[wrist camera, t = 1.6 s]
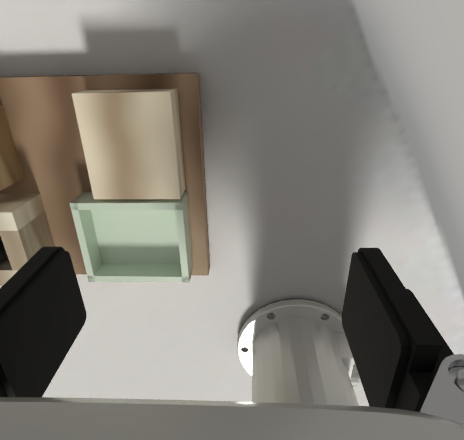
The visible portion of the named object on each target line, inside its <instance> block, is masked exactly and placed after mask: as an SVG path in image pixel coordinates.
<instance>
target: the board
mask: <svg viewBox="0 0 464 440" xmlns="http://www.w3.org/2000/svg"><path fill="white" fill-rule="evenodd" d="M131 89H177V92H178V104H179V115H180V127H181V139H182V151H183V163H184V175H185V187H186V188H185V191H184V192H187V196H188V208H189V221H190V233H191V245H192V257H193V270H192V274H191V275H208V274H209V269H210V260H209V242H208V224H207V207H206V189H205V172H204V154H203V137H202V119H201V102H200V84H199V73H174V74H124V75H74V76H24V77H0V194H40V195H41V198H42V202H43V205H44V209H45V212H46V216H47V220H48V223H49V227H50V230H51V234H52V237H53V241H54V244H55V247H63V248H64V249H65V251H68V252H69V253H70V256H71V260H72V263H73V267H74V271H75V274H87V273H86V269H85V265H84V260H83V256H82V252H81V248H80V244H79V240H78V236H77V232H76V228H75V224H74V220H73V215H72V211H71V207H70V202H72V201H73V200H74V199H75V198H76V197H78V196H79V195H80V194H81V193H83V192H92V189H91V184H90V179H89V174H88V170H87V165H86V160H85V155H84V150H83V146H82V141H81V136H80V131H79V127H78V122H77V117H76V112H75V108H74V103H73V98H72V93H76V92H81V91H86V90H131Z"/></svg>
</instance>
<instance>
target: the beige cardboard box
mask: <svg viewBox="0 0 464 440" xmlns="http://www.w3.org/2000/svg"><path fill="white" fill-rule="evenodd" d="M72 98H73V103H74V108H75V112H76V117H77V122H78V127H79V131H80V136H81V141H82V146H83V150H84V155H85V160H86V165H87V170H88V174H89V179H90V184H91V189H92V193H93V198H94V199H181V197H182V195H183V193H184V191H185V188H186V187H185V175H184V163H183V151H182V139H181V127H180V115H179V104H178V92H177V89H131V90H86V91H81V92H76V93H72Z"/></svg>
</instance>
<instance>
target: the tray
mask: <svg viewBox="0 0 464 440" xmlns="http://www.w3.org/2000/svg"><path fill="white" fill-rule="evenodd" d="M70 207H71V211H72V215H73V220H74V224H75V228H76V232H77V236H78V240H79V244H80V248H81V252H82V256H83V260H84V265H85V269H86V273H87V277H88V281H91V282H185V283H189V281H190V278H191V274H192V270H193V257H192V245H191V233H190V221H189V208H188V196H187V192H184V193H183V195H182V197H181V199H94V198H93V193H92V192H83V193H81V194H80V195H79V196H78V197H76V198H75V199H74V200H73V201H72V202H70Z"/></svg>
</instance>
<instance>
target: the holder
mask: <svg viewBox="0 0 464 440" xmlns="http://www.w3.org/2000/svg"><path fill="white" fill-rule="evenodd" d="M0 236H1V239H2V242H3V244H4V247H5V250H6V253H7V255H6V256H5V257H4V258H3V259H2V260H0V286H3V285H4V284H5V283H6V282H7V281H8V280H9V279H10V278H11V277H12V276H13V275H14V274H15V273H16V272H17V271H18V270H19V269H20V268H21V267H22V266H23V265H24V264H25V263H26V262H27V261H28V260H29V259H30V258H31V257H32V256H33V255H34V254H35V253H36V252H37V251H38V250H40V249H41V248H42V247H45V246H51V247H55V244H54V241H53V237H52V234H51V230H50V227H49V223H48V220H47V216H46V212H45V209H44V205H43V202H42V198H41V195H40V194H0Z"/></svg>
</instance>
